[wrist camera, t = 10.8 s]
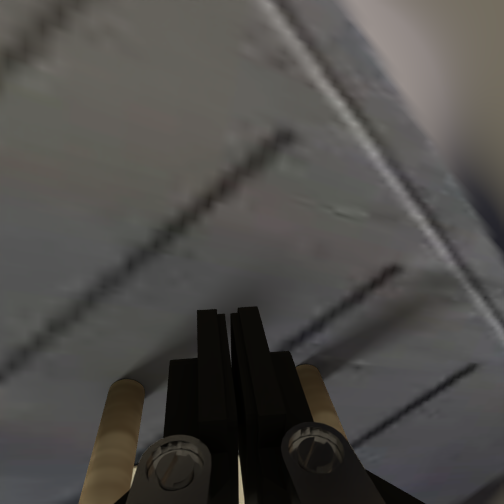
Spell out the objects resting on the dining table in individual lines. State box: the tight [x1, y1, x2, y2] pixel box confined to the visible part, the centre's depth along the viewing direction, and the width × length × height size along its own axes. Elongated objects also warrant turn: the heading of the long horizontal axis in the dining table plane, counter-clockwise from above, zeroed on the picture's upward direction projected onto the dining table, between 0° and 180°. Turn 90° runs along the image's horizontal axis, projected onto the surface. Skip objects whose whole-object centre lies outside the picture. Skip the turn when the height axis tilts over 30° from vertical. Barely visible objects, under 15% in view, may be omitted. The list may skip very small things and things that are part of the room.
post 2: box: [296, 364, 348, 441], centre depth 26 cm, size 2×2×9 cm
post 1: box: [79, 379, 145, 504], centre depth 24 cm, size 2×2×9 cm
